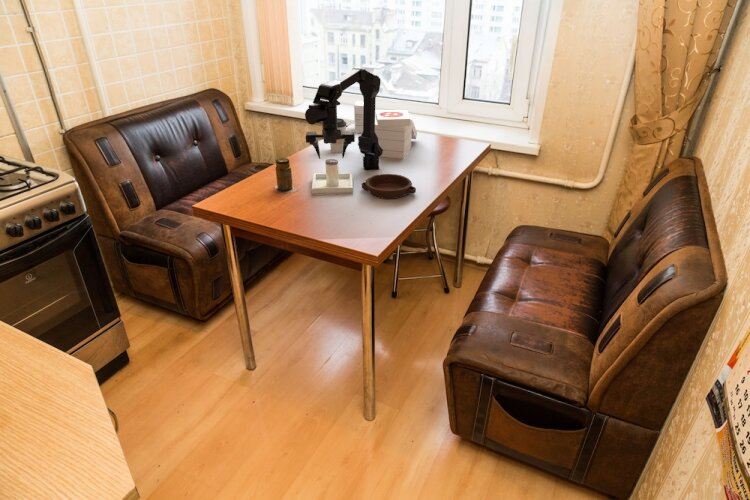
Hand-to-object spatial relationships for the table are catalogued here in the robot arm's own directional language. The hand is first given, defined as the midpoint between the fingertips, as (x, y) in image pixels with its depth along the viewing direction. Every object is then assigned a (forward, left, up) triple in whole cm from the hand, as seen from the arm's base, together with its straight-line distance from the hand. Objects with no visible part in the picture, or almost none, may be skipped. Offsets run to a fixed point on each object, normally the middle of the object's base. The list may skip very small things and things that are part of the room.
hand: (331, 158), depth 190 cm
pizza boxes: (-30, -45, -12) cm, 56 cm away
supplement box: (-16, -75, -12) cm, 78 cm away
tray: (0, 0, -12) cm, 12 cm away
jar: (0, 0, -11) cm, 11 cm away
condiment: (+19, +2, -12) cm, 23 cm away
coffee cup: (-2, -44, -12) cm, 46 cm away
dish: (-22, +8, -12) cm, 27 cm away
